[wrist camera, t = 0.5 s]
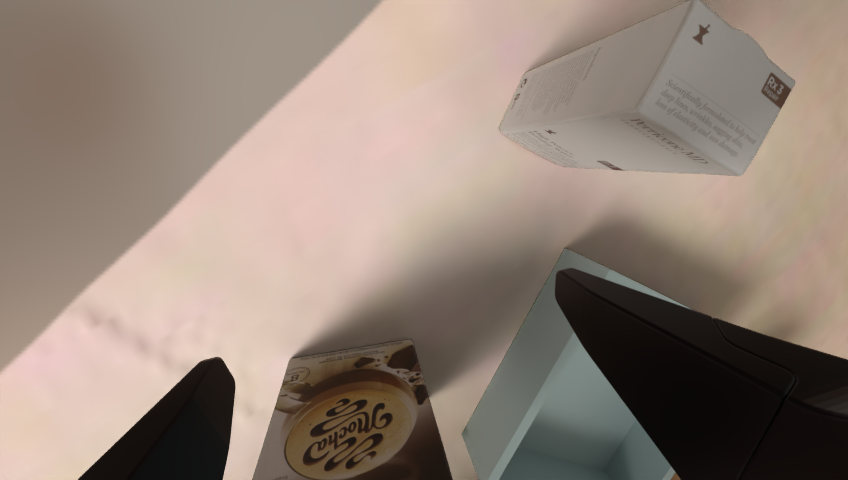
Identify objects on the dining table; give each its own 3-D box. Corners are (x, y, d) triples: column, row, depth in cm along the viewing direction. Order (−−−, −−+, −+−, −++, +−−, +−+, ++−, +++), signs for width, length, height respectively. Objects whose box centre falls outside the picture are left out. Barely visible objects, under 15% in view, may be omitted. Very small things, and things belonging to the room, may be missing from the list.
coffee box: (413, 334, 26) (497, 593, 11) (419, 406, 28) (500, 717, 13) (285, 355, 25) (178, 689, 10) (300, 430, 27) (230, 816, 11)
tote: (599, 471, 34) (640, 524, 29) (461, 434, 30) (482, 488, 25) (699, 314, 31) (761, 344, 27) (565, 247, 27) (610, 269, 22)
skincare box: (494, 132, 24) (628, 117, 12) (524, 67, 23) (695, -13, 12) (566, 170, 25) (742, 187, 14) (595, 110, 25) (806, 77, 13)
